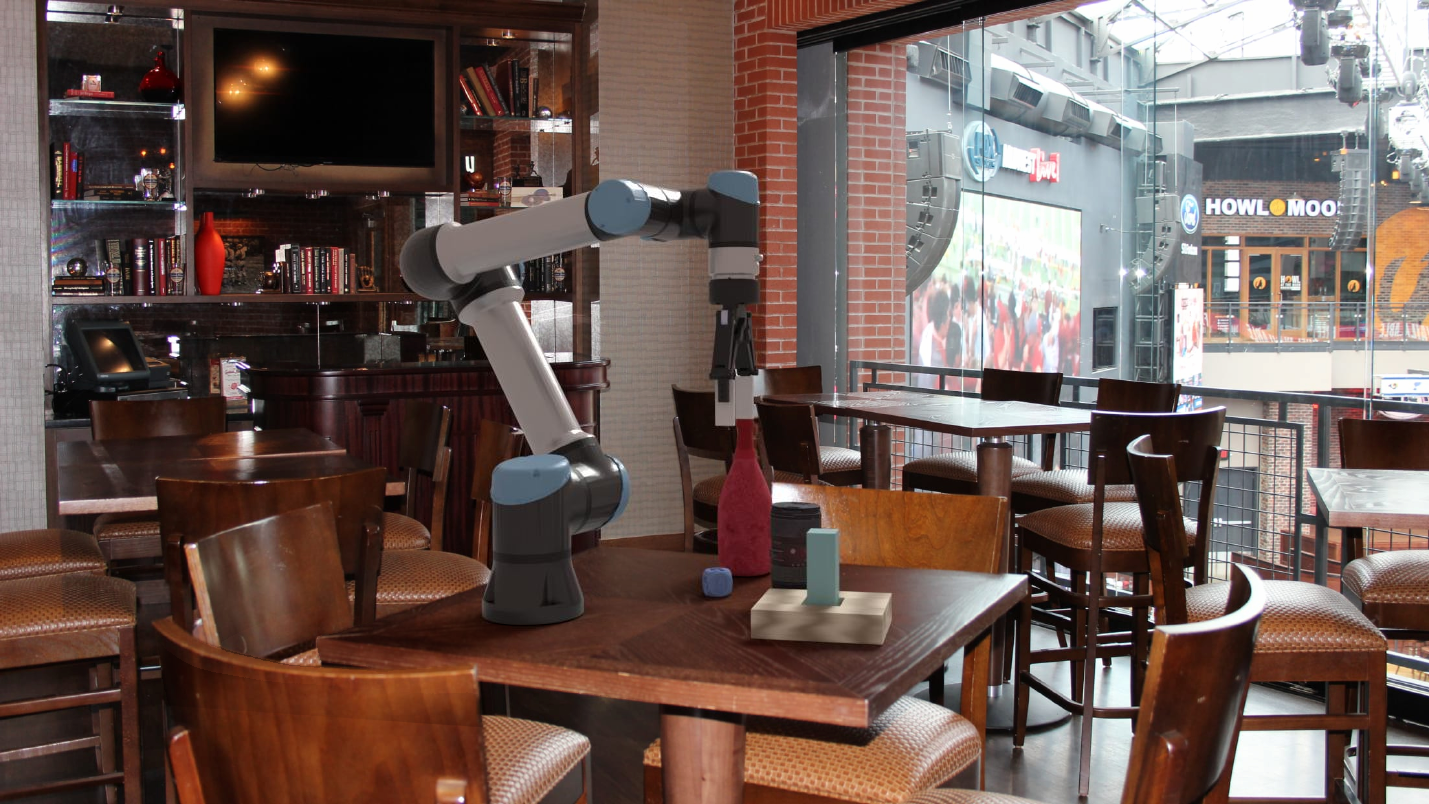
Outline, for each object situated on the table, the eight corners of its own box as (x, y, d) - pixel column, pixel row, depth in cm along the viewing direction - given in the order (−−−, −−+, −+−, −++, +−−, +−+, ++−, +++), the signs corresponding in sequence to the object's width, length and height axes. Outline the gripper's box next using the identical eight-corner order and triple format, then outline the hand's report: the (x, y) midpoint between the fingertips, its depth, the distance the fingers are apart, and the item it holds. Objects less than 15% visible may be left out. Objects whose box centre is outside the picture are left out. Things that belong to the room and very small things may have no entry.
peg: (807, 632, 172) (806, 532, 171) (811, 625, 176) (810, 528, 175) (835, 633, 171) (835, 533, 170) (839, 626, 175) (838, 529, 174)
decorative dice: (726, 591, 200) (725, 566, 200) (732, 596, 196) (732, 571, 196) (702, 592, 199) (702, 568, 199) (708, 597, 195) (708, 572, 195)
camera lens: (818, 605, 189) (818, 508, 188) (766, 603, 190) (766, 507, 189) (824, 593, 197) (824, 501, 196) (774, 592, 198) (774, 500, 197)
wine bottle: (719, 567, 220) (717, 399, 218) (773, 567, 219) (772, 399, 218) (716, 578, 210) (715, 403, 208) (774, 578, 210) (773, 402, 208)
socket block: (751, 638, 169) (750, 609, 168) (769, 615, 182) (769, 588, 182) (882, 644, 165) (882, 615, 164) (891, 620, 178) (891, 593, 178)
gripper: (741, 273, 168) (742, 428, 169) (774, 280, 192) (775, 416, 193) (688, 275, 169) (689, 428, 170) (727, 281, 193) (728, 415, 195)
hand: (735, 422), depth 182 cm, fingers open, 13 cm apart
